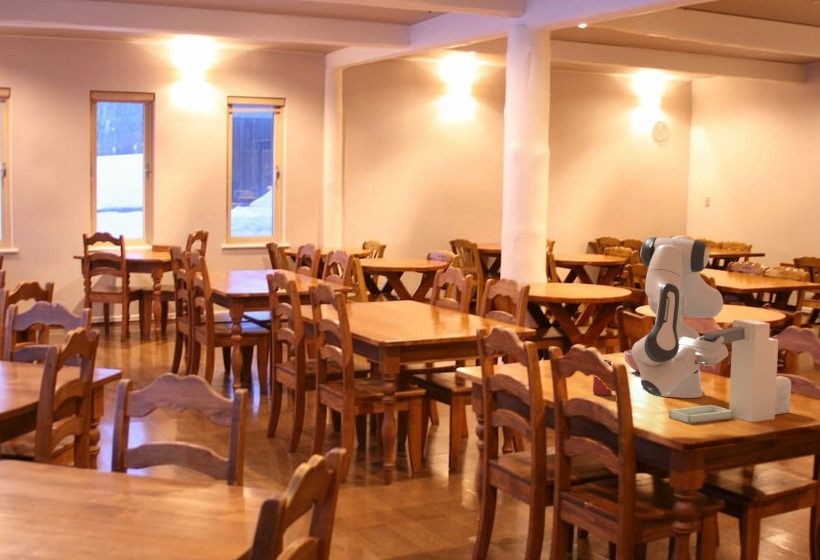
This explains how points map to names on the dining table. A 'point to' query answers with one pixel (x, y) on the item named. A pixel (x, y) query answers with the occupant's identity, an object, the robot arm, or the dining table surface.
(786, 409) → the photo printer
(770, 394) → the white dispenser tower
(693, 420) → the tray
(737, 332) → the drive caddy
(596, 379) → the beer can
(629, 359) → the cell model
